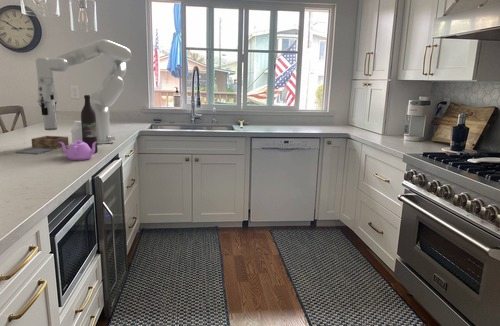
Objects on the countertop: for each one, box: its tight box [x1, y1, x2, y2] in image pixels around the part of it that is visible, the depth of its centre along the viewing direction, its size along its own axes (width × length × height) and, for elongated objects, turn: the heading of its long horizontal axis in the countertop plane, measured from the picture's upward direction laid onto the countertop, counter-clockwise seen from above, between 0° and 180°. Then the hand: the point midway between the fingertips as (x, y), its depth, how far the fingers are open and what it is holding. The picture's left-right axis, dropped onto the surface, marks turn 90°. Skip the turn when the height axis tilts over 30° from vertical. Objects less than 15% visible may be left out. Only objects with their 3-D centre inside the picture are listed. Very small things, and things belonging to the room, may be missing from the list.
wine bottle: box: [80, 94, 98, 154], centre depth 189 cm, size 7×7×30 cm
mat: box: [15, 147, 54, 155], centre depth 190 cm, size 12×12×1 cm
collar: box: [31, 135, 69, 150], centre depth 204 cm, size 13×13×5 cm
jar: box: [70, 120, 83, 144], centre depth 203 cm, size 12×10×15 cm
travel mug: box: [42, 95, 58, 131], centre depth 201 cm, size 6×7×20 cm
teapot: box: [59, 140, 98, 161], centre depth 177 cm, size 12×14×9 cm
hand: (49, 114), depth 201 cm, fingers closed on travel mug, 6 cm apart
